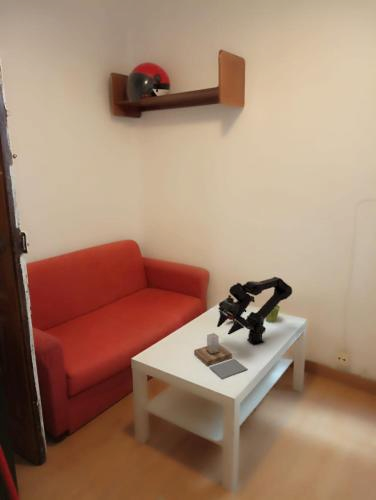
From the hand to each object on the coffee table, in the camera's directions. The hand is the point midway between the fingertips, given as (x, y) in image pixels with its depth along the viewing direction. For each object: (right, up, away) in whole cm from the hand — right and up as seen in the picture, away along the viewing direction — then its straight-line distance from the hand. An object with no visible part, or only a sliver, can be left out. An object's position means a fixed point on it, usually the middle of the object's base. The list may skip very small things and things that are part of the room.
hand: (222, 330), depth 178 cm
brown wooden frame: (-5, -13, 0) cm, 14 cm away
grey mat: (+1, -15, -11) cm, 19 cm away
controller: (+7, 0, +50) cm, 50 cm away
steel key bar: (-5, -13, 0) cm, 14 cm away
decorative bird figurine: (+11, -3, +37) cm, 39 cm away
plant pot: (+32, -3, +38) cm, 50 cm away
